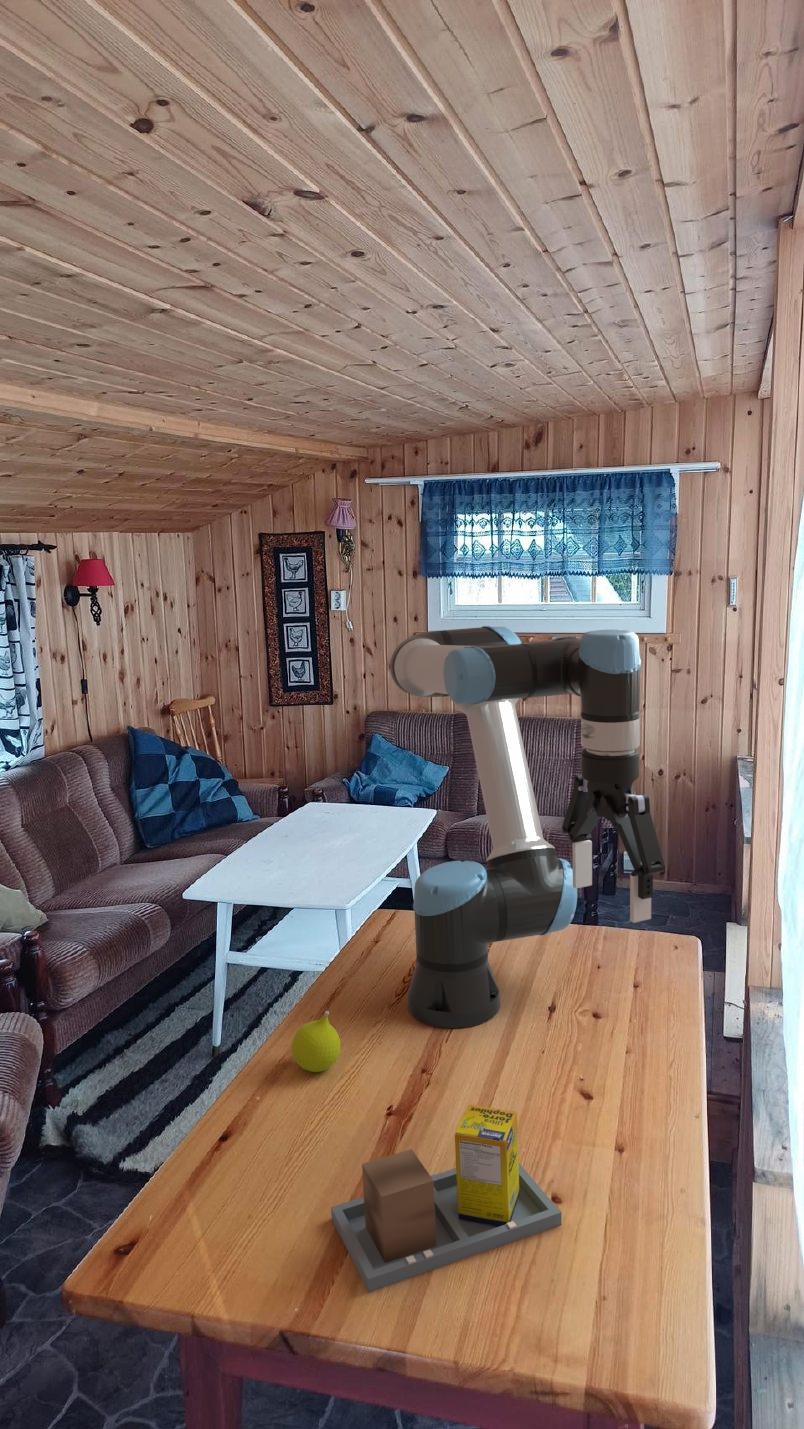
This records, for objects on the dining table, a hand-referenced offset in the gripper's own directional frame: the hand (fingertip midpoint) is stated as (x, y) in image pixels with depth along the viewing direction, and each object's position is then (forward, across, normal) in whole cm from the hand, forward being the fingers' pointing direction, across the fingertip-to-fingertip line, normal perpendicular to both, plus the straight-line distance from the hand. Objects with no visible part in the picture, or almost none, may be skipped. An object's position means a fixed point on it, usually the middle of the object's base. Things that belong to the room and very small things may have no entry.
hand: (610, 902), depth 132 cm
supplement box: (+26, +16, -28) cm, 41 cm away
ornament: (+27, -22, -36) cm, 50 cm away
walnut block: (+26, +16, -38) cm, 49 cm away
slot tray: (+27, +16, -33) cm, 45 cm away
